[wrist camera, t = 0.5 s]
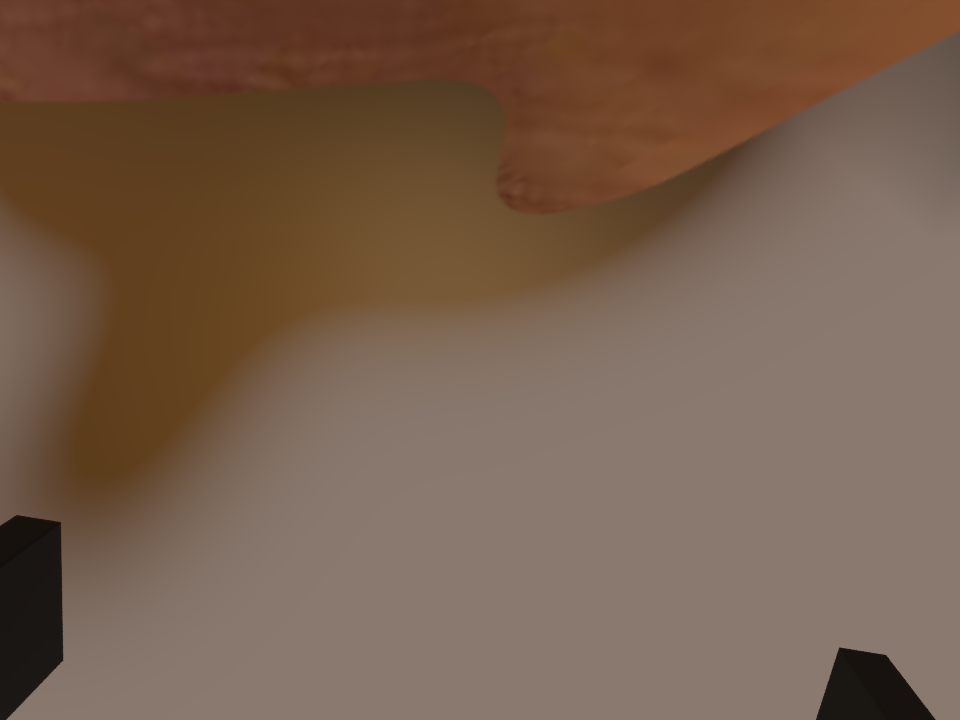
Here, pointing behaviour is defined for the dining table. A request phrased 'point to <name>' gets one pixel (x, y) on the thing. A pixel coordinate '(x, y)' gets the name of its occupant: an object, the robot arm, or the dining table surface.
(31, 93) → the dining table surface
